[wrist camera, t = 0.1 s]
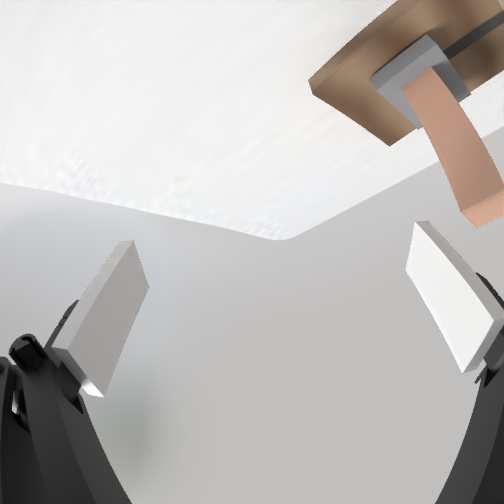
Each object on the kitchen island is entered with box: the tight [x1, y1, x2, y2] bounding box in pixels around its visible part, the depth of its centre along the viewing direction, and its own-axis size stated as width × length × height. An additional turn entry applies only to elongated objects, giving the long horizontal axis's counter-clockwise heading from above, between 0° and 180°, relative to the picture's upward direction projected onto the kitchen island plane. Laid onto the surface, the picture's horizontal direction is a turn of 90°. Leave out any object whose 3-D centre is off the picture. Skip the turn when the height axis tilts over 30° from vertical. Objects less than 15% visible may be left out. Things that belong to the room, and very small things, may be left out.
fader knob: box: [369, 34, 504, 228], centre depth 14 cm, size 6×6×12 cm
